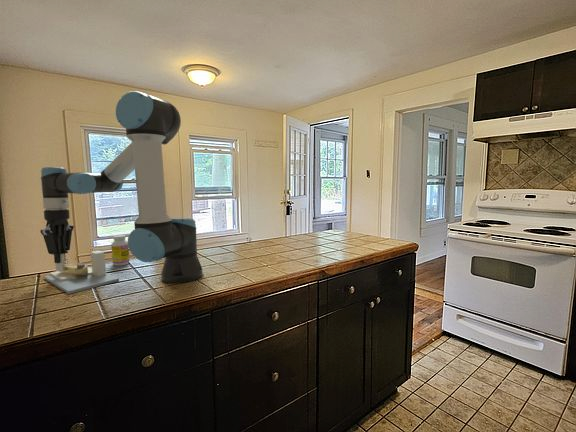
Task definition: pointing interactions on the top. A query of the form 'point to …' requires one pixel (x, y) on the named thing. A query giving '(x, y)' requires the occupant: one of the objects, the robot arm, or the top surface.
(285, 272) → the top surface
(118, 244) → the supplement bottle
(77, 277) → the mounted latch plate
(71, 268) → the bar
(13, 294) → the top surface
